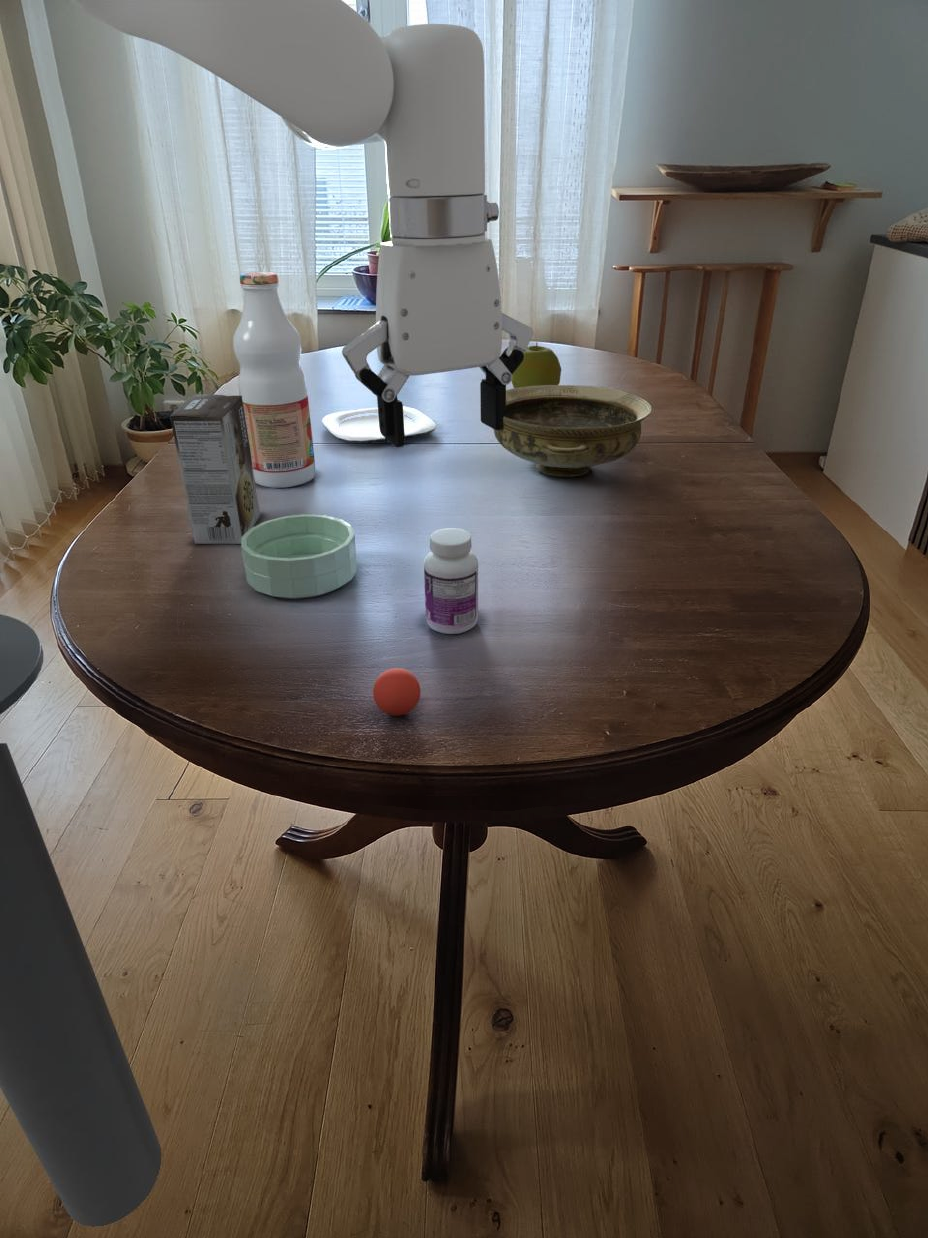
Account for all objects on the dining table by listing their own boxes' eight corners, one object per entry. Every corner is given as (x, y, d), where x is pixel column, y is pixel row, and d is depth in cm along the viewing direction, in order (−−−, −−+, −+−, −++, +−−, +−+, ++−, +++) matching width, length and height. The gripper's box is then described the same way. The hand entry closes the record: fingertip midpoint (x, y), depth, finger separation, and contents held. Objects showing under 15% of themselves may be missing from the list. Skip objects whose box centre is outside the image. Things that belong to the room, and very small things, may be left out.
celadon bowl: (308, 613, 82) (302, 570, 79) (224, 585, 88) (217, 544, 85) (378, 568, 91) (375, 528, 88) (298, 545, 96) (294, 507, 94)
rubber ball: (403, 731, 65) (401, 691, 63) (365, 715, 67) (361, 677, 65) (430, 706, 68) (429, 667, 66) (392, 692, 70) (390, 654, 68)
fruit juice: (239, 478, 117) (207, 274, 103) (290, 462, 123) (266, 267, 109) (277, 494, 111) (249, 280, 97) (329, 476, 117) (309, 273, 103)
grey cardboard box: (213, 515, 105) (191, 393, 96) (261, 515, 105) (244, 393, 96) (192, 544, 97) (166, 414, 89) (244, 544, 97) (223, 414, 89)
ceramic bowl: (649, 509, 106) (658, 436, 101) (473, 500, 109) (473, 429, 104) (639, 441, 131) (646, 380, 126) (497, 435, 134) (498, 375, 129)
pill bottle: (430, 608, 83) (427, 523, 78) (480, 610, 82) (480, 525, 77) (422, 634, 78) (418, 546, 73) (475, 637, 78) (475, 548, 73)
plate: (315, 423, 141) (314, 413, 140) (410, 411, 147) (409, 402, 146) (342, 452, 127) (341, 442, 126) (446, 438, 133) (446, 428, 132)
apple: (501, 396, 157) (502, 338, 151) (544, 391, 160) (546, 334, 154) (523, 408, 149) (525, 348, 143) (568, 403, 152) (572, 344, 146)
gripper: (509, 214, 68) (507, 410, 77) (317, 224, 62) (339, 438, 70) (556, 218, 62) (548, 430, 71) (349, 230, 56) (368, 463, 64)
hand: (444, 434), depth 71 cm, fingers open, 9 cm apart
